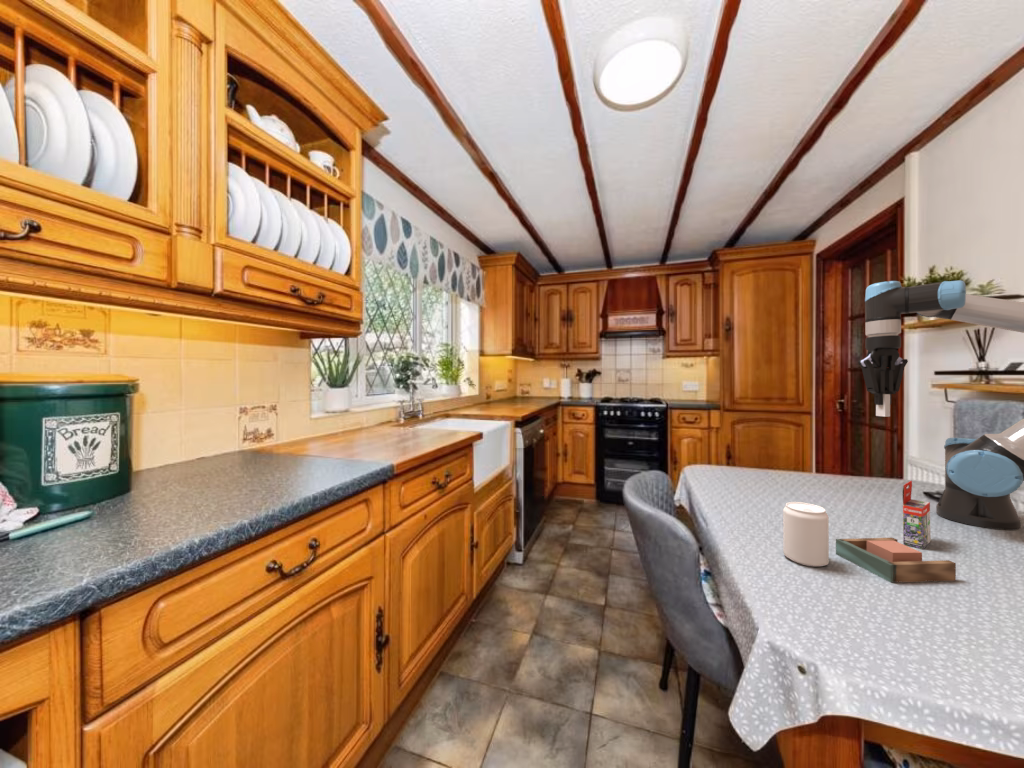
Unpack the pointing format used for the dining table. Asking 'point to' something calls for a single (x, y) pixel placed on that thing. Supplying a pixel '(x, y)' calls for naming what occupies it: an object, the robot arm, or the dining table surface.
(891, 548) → the terracotta brick
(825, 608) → the dining table surface
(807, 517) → the beverage can
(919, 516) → the ink box
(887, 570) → the bay
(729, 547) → the dining table surface
